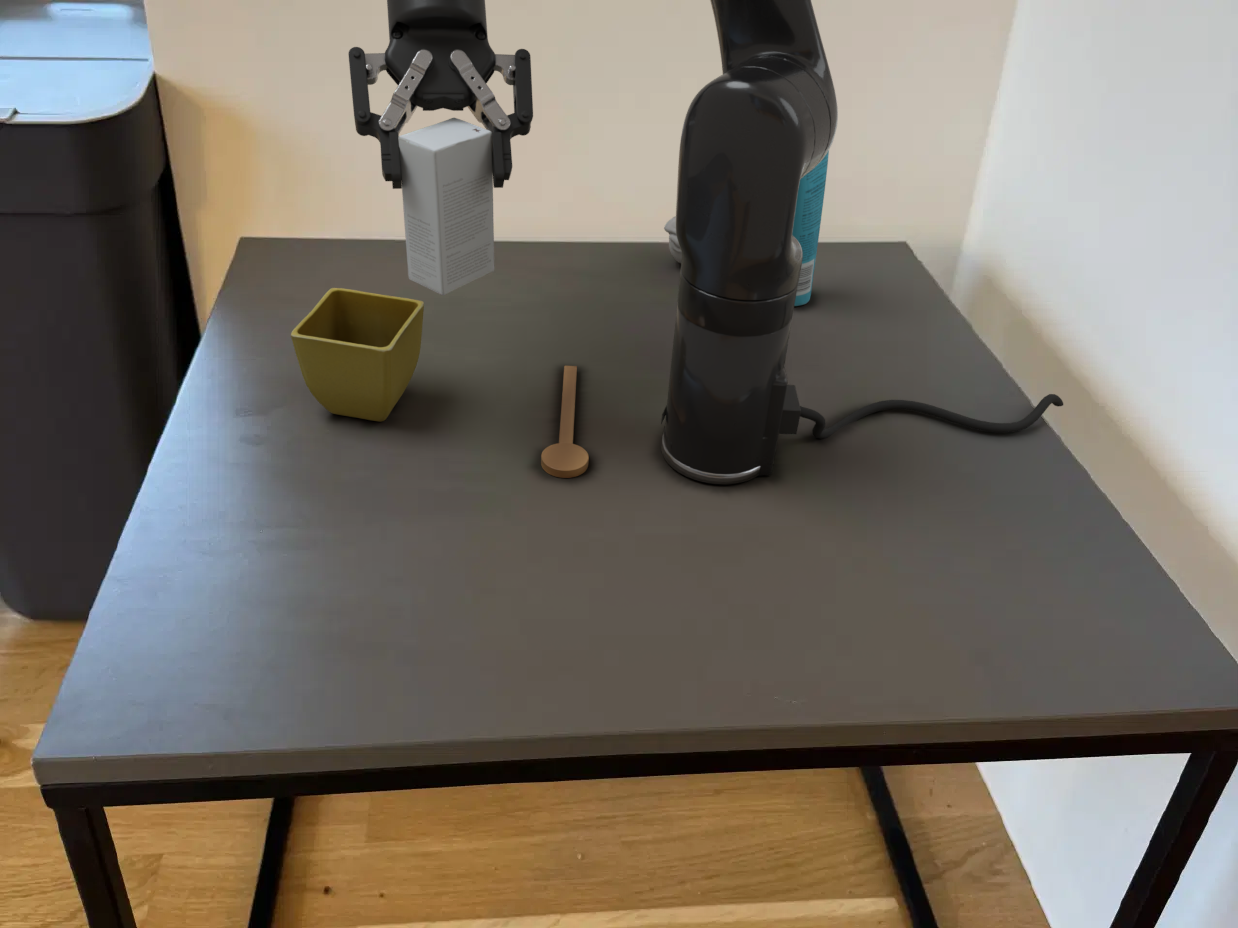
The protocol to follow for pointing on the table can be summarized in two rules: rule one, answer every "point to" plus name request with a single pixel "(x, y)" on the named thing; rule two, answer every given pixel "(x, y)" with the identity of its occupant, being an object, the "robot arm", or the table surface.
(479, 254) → the cosmetic box
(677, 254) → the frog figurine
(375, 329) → the flower pot
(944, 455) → the table surface
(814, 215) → the tube
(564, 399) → the wooden spoon
